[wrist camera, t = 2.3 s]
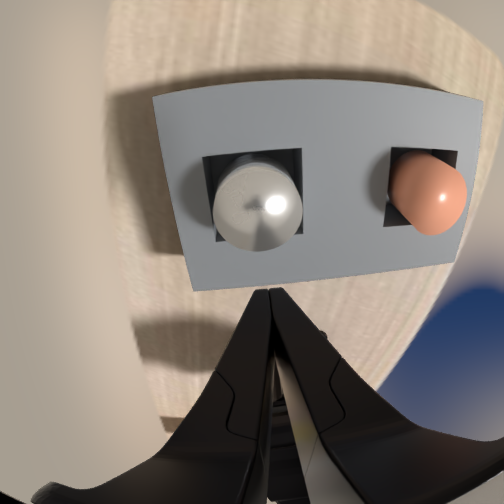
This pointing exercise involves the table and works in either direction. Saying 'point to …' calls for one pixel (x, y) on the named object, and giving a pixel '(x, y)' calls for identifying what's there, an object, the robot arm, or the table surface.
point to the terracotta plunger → (426, 191)
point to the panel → (313, 172)
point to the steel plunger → (256, 203)
